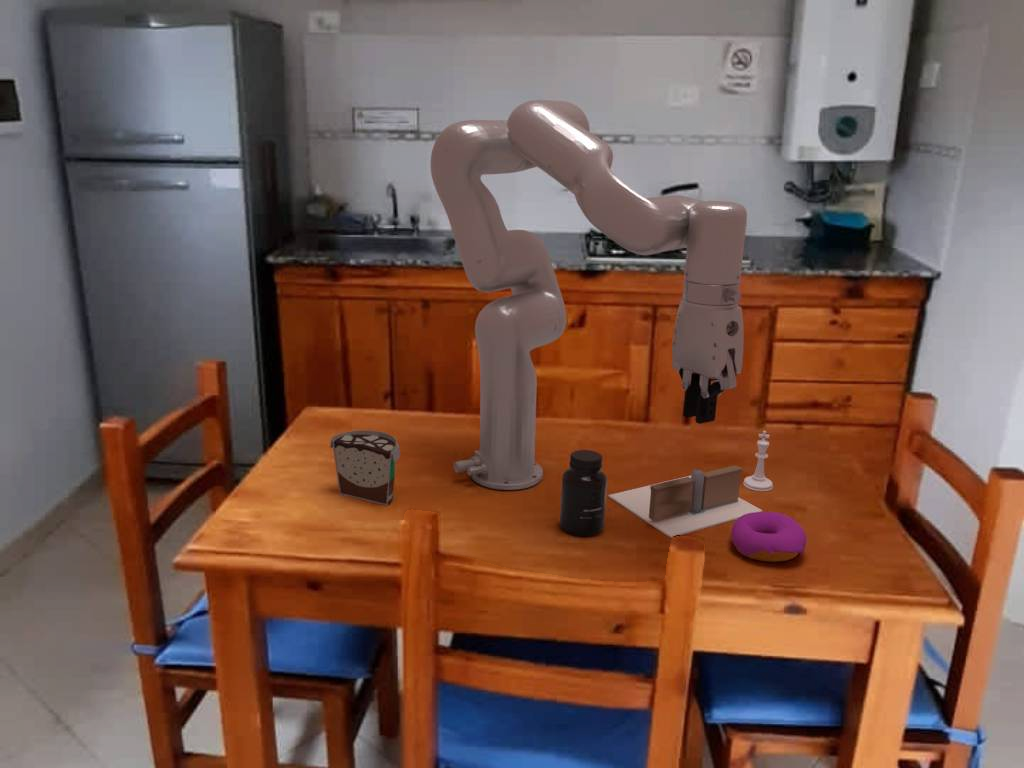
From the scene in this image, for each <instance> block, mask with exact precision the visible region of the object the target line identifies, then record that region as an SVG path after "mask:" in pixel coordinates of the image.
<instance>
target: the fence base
mask: <svg viewBox="0 0 1024 768" xmlns="http://www.w3.org/2000/svg"><path fill="white" fill-rule="evenodd" d="M742 472H743V468H742V467H740V466H738V465H735V464H734V465H731V466H727V467H723V468H718V469H715V470H714V469H713V470H711V471H706V472H705V471H704V470H701V469H693V470H691V473H690V475H688V476H686V477H690V478H691V479H693V480H695V483H694V484H693V494H692V505H691V511H689V512H685V513H682V514H678V515H674V516H670V517H667V518H663V519H659V520H655V521H653V520H651V519H650V518H649V509H650V496H651V489H650V486H651V485H655V484H659V483H660V482H658V483H654V484H649V485H646V486H641V487H637V488H633V489H628V490H624V491H620V492H615V493H611V494H607V495H608V496H607V497H608V498H609V499H611V500H612V501H614V502H616V503H617V504H619V505H620V506H621V507H622V508H624V509H626V510H627V511H629V512H631V513H632V514H633V515H635V516H637V517H638V518H640V519H641V520H643V521H644V522H646V523H647V524H649V525H650V526H652V527H654V528H655V529H656V530H658V531H659V532H661V533H662V534H663V535H666V536H667V537H669V538H670V539H673V538H674V537H673V536H676V535H680V536H682V535H686V534H690V533H693V532H696V531H701V530H704V529H705V530H706V529H708V528H711V527H714V526H718V525H721V524H725V523H729V522H733V521H736V520H737V519H738V518H739V517H741V516H742V515H745V514H748V513H753V512H764V511H763V509H760V508H759V507H757V506H755V505H753V504H751V503H750V502H747V501H746V500H744V499H743V498H740V497H739V494H740V487H741V486H740V484H741V476H742ZM684 477H685V476H683V477H679V478H675V479H671V480H667V481H666V480H665V481H662V482H661V483H664V482H668V481H672V480H676V479H680V478H684ZM676 537H677V536H676Z"/></svg>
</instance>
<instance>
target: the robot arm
mask: <svg viewBox="0 0 1024 768" xmlns="http://www.w3.org/2000/svg"><path fill="white" fill-rule="evenodd" d="M590 129H591V128H590V123H589V120H588V117H587V116H586V114H585V112H584V111H583V110H582V109H581V108H580V107H578V106H577V104H574V103H572V102H569V101H565V100H564V101H563V100H545V99H544V100H543V99H534V100H529V101H525V102H523V103H520V104H519V105H518V106H517V107H515V109H514V110H512V112H511V113H510V115H509V116H508V119H507V120H506V119H505V120H503V119H502V120H501V119H500V120H499V119H498V120H494V119H469V120H468V119H467V120H461V121H458V122H455V123H452V124H450V125H448V126H447V127H445V128H444V129H443V130H442V131H441V132H440V134H438V136H437V138H436V139H435V142H434V144H433V146H432V151H431V155H430V174H431V179H432V182H433V185H434V188H435V192H436V193H437V195H438V198H439V200H440V202H441V204H442V206H443V209H444V211H445V214H446V217H447V219H448V221H449V225H450V228H451V232H452V235H453V238H454V241H455V242H454V243H455V245H456V248H457V252H458V254H459V257H460V260H461V262H462V266H463V269H464V271H465V272H464V273H465V275H466V278H467V280H468V282H469V283H470V285H471V287H473V288H474V289H475V290H477V291H479V292H483V293H494V292H498V291H504V290H507V289H510V291H511V292H512V293H511V294H512V295H509V296H505V297H501V298H498V299H496V300H493V301H491V302H490V303H488V304H486V305H484V307H483V308H482V309H481V310H480V311H479V313H478V315H477V317H476V320H475V322H474V323H475V324H474V332H475V333H474V334H475V340H476V346H477V350H478V352H477V353H478V359H479V370H480V372H479V373H480V374H479V376H480V377H479V379H480V382H479V383H480V384H479V385H480V387H479V388H480V389H479V390H480V392H479V393H480V400H479V401H480V403H479V407H480V410H479V449H478V450H474V451H473V452H474V454H473V456H471V457H470V458H469V459H466V460H465V459H464V460H458V461H455V462H453V469H454V472H455V473H456V474H459V473H464V472H466V473H467V475H468V476H470V477H471V479H472V480H473V481H474V482H475V483H476V484H478V485H480V486H483V487H485V488H489V489H493V490H499V491H500V490H501V491H502V490H503V491H515V490H516V491H517V490H523V489H527V488H530V487H534V486H535V485H537V484H539V483H540V482H541V480H542V479H543V475H544V469H543V467H542V466H541V465H540V464H539V463H537V462H536V461H535V449H536V445H535V444H536V419H537V417H536V416H537V389H538V388H537V384H538V381H537V379H538V378H537V373H536V367H535V366H534V363H533V361H532V358H531V354H530V353H531V351H532V350H534V349H536V348H540V347H542V346H546V345H548V344H551V343H553V342H555V341H556V340H558V339H559V338H560V337H561V336H562V335H563V333H564V332H565V329H566V326H567V311H566V306H565V302H564V299H563V295H562V292H561V289H560V286H559V283H558V279H557V275H556V273H555V270H554V267H553V264H552V260H551V258H550V255H549V252H548V250H547V248H546V246H545V244H544V243H543V241H542V240H541V239H540V238H539V237H538V236H537V235H536V234H534V233H533V232H532V231H531V232H530V231H528V230H525V229H511V230H508V229H507V227H506V225H505V222H504V220H503V217H502V214H501V210H500V207H499V204H498V202H497V200H496V198H495V196H494V195H493V194H492V192H491V191H490V189H489V188H488V187H487V186H486V185H485V184H484V183H483V181H482V180H481V178H482V176H483V175H499V174H500V175H501V174H512V173H514V174H515V173H519V172H523V171H527V170H530V169H534V168H538V169H540V170H541V171H542V172H543V173H545V174H546V175H548V176H550V177H551V178H552V179H554V180H555V181H556V182H557V183H559V184H560V185H561V186H562V187H564V188H566V189H567V190H568V191H569V192H570V193H572V194H573V195H574V198H575V201H576V203H577V205H578V207H579V209H580V210H581V212H582V213H583V215H584V216H585V218H586V219H587V221H588V222H589V223H590V224H591V225H592V226H593V227H595V228H596V229H597V230H598V231H600V232H601V233H602V234H603V235H605V236H606V237H607V238H609V239H610V240H612V241H613V242H614V243H616V244H617V245H618V246H620V247H621V248H623V249H625V250H627V251H628V252H631V253H634V254H636V255H640V256H650V255H656V254H659V253H662V252H669V251H675V250H680V249H686V250H685V252H686V253H685V266H684V275H683V286H682V298H681V299H680V301H679V306H678V310H677V313H676V317H675V323H674V329H673V337H672V345H671V346H672V349H671V350H672V351H671V352H672V353H671V358H672V361H671V366H672V367H673V369H675V370H676V372H677V373H679V376H680V379H681V382H682V383H681V387H682V389H683V390H684V398H683V407H682V408H683V409H682V410H683V411H682V417H684V418H686V419H687V418H688V419H689V418H694V417H695V420H694V421H695V423H696V424H699V425H701V424H707V423H711V422H714V421H715V419H716V411H717V404H718V403H717V401H718V396H721V395H722V393H723V392H724V391H725V390H729V389H735V388H736V387H737V384H738V383H737V379H736V377H737V376H740V374H741V372H742V369H743V368H742V367H743V358H744V338H745V337H744V336H745V335H744V318H743V310H742V309H743V308H742V306H739V302H740V301H741V299H742V293H741V292H740V286H741V278H742V277H741V276H742V270H743V268H742V267H743V259H744V258H743V257H744V250H745V249H744V248H745V242H746V241H745V240H746V230H747V229H746V228H747V222H748V221H747V219H748V213H747V209H746V207H744V205H743V204H741V203H737V202H733V201H726V200H725V201H724V200H702V199H697V198H692V197H689V196H684V195H680V194H678V195H676V194H673V195H664V196H655V197H648V198H647V197H646V196H644V195H642V194H640V193H639V192H638V191H636V190H635V189H634V188H632V187H630V186H629V185H628V184H626V183H625V182H623V181H622V180H621V179H620V178H619V177H617V175H615V173H613V171H612V170H611V169H612V166H613V159H614V154H613V150H612V147H611V146H610V144H608V143H607V142H605V141H604V140H602V139H601V138H599V137H598V136H596V135H595V134H593V133H592V132H590ZM711 382H713V383H711Z"/></svg>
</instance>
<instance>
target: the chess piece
mask: <svg viewBox="0 0 1024 768" xmlns="http://www.w3.org/2000/svg"><path fill="white" fill-rule="evenodd" d="M758 438H762V439H759V440H757V441H756V444H757V449H758V452H755V454H754V456H755V457H756V458H757V463H756V467H755V470H754V473H753V474H752V475H749V476H746V477H745V478H744V479H743V482H742V483H743V485H744V486H743V487H745V488H747V489H749V490H750V491H751V490H752V491H756V492H768V491H771V490H772V489H773V488H774V486H773V482H772V480H770V479H769V478H767V477H766V476H765V459H767V458H768V457H769V454H768V453H766V452H767V449H768V447H769V445H770V442H769V441H768V440H766V439H770V434H767V430H762V434H761V433H759V434H758Z"/></svg>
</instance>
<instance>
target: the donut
mask: <svg viewBox="0 0 1024 768" xmlns="http://www.w3.org/2000/svg"><path fill="white" fill-rule="evenodd" d="M730 532H731V533H730V536H731V540H732V543H733V545H734V546H735V549H736V550H737V551H738V552H739V553H740V555H743V556H744V557H746V558H748V557H749V558H748V559H752V560H755V561H760V562H772V563H773V562H775V563H776V562H779V563H780V562H784V561H786V562H787V561H789V560H792V559H794V558H795V557H796V556H798V555H800V556H802V555H803V553H804V552H805V551H804V550H805V548H806V545H807V536H806V532H805V530H804V527H802V526H801V525H800V523H798V522H797V521H796V520H795V519H793V518H792V517H790V516H789V515H787V514H784V513H781V512H776V511H763V512H753V513H748V514H745V515H742V516H741V517H739V518H738V519H737V520H734V522H733V525H732V528H731V531H730Z"/></svg>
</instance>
